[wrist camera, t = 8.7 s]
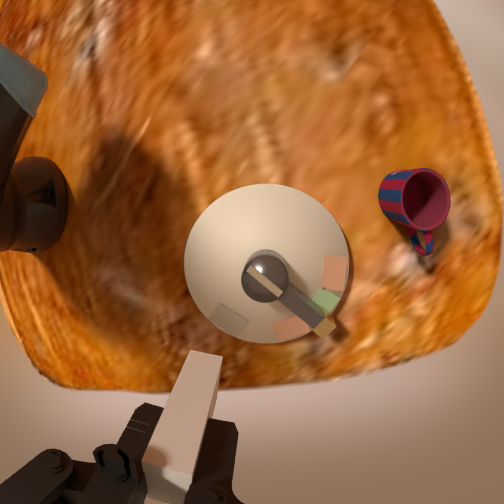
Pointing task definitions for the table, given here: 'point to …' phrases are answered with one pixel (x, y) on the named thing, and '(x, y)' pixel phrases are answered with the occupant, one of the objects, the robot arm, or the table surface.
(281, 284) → the needle
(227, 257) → the dial plate
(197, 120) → the table surface
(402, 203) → the mug
